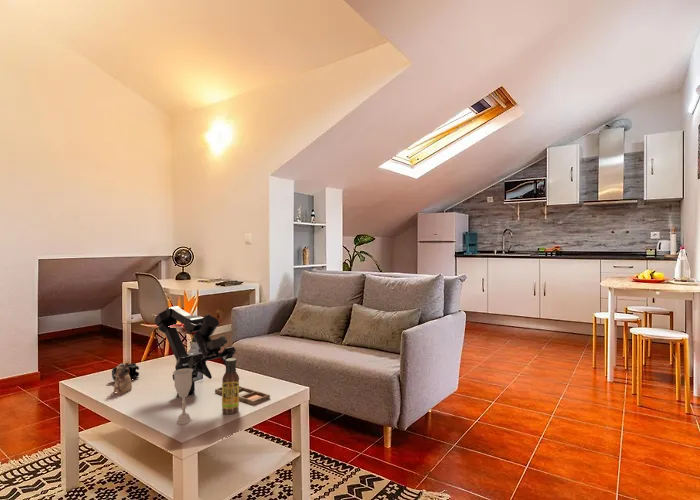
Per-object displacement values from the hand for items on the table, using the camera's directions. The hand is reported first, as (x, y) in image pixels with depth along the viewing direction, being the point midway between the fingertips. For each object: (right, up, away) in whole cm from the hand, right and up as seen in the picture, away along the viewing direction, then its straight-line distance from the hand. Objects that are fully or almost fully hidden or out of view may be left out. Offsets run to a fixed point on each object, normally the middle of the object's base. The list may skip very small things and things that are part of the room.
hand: (221, 375), depth 164 cm
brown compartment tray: (+4, -13, +14) cm, 19 cm away
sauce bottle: (+4, -13, -3) cm, 14 cm away
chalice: (-10, -13, -11) cm, 20 cm away
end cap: (-57, -14, +38) cm, 70 cm away
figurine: (-51, -14, +23) cm, 57 cm away
